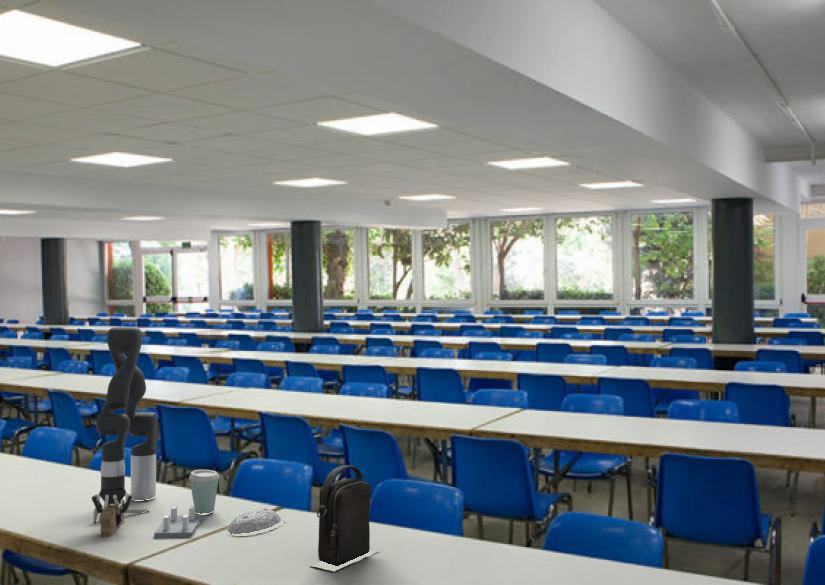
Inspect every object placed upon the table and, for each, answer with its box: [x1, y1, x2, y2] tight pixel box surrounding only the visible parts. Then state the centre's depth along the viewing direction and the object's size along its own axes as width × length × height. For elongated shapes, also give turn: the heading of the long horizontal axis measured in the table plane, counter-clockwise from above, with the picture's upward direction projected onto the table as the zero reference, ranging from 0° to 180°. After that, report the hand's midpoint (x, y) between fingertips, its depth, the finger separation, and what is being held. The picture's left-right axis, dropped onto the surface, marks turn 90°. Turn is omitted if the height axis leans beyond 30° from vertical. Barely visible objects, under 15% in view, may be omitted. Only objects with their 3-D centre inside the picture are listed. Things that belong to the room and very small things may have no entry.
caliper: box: [92, 507, 149, 524], centre depth 278 cm, size 20×1×6 cm, turn 136°
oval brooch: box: [226, 507, 282, 534], centre depth 267 cm, size 16×25×7 cm, turn 148°
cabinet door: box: [100, 499, 126, 538], centre depth 263 cm, size 16×4×8 cm, turn 5°
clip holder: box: [153, 505, 204, 539], centre depth 265 cm, size 20×12×6 cm, turn 5°
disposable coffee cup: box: [188, 469, 220, 514], centre depth 283 cm, size 11×11×15 cm
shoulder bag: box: [316, 464, 372, 566], centre depth 235 cm, size 23×9×28 cm, turn 146°
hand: (112, 524), depth 263 cm, fingers closed on cabinet door, 3 cm apart
